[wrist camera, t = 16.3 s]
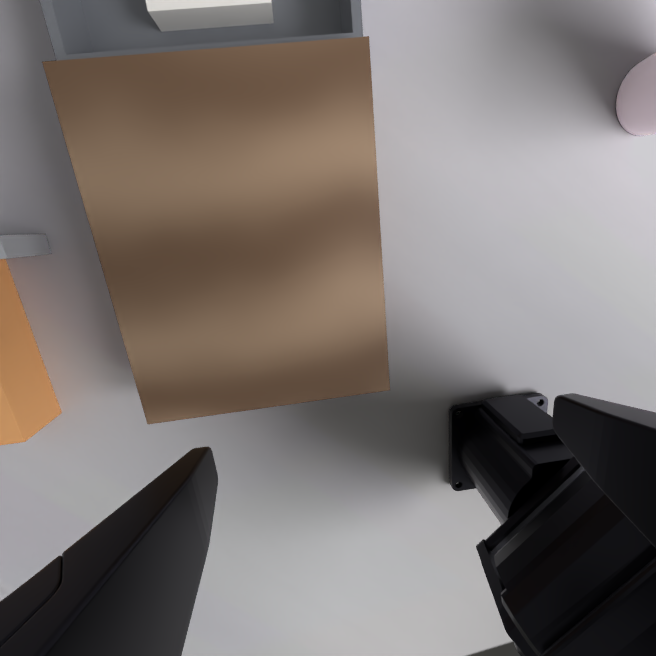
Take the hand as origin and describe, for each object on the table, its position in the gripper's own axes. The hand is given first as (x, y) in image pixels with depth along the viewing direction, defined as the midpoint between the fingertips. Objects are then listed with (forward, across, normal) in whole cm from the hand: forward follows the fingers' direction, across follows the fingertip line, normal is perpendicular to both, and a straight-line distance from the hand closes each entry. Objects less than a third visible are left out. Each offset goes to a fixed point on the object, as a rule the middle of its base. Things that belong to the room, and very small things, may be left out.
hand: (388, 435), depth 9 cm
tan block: (+12, +4, -4) cm, 13 cm away
